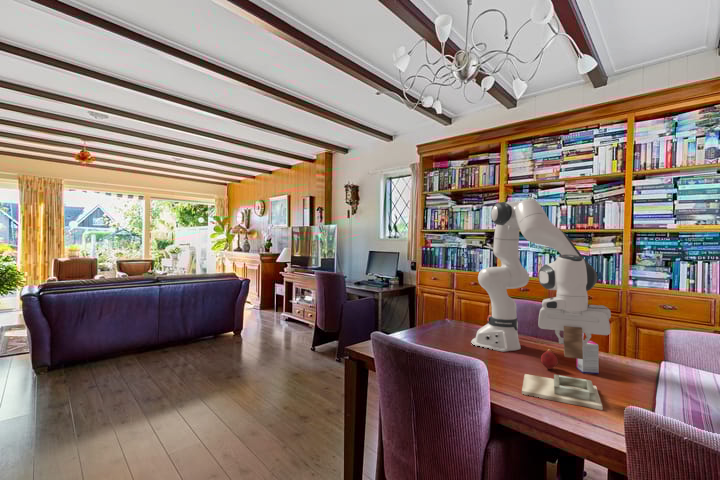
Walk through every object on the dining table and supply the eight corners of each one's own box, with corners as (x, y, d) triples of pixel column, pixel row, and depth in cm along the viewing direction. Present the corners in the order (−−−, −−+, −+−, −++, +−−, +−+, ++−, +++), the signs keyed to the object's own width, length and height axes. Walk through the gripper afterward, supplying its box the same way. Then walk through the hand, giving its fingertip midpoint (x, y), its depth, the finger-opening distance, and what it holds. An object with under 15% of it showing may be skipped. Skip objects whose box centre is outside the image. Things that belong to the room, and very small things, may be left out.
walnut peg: (564, 356, 109) (563, 326, 109) (564, 352, 113) (563, 323, 113) (582, 359, 107) (582, 328, 107) (581, 354, 111) (580, 324, 111)
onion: (551, 373, 128) (551, 352, 128) (537, 368, 133) (537, 348, 133) (560, 370, 130) (560, 350, 131) (546, 365, 136) (546, 346, 136)
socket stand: (521, 394, 111) (521, 383, 111) (524, 377, 124) (524, 367, 124) (602, 410, 100) (602, 397, 100) (596, 389, 113) (595, 378, 113)
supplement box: (599, 374, 126) (598, 344, 126) (582, 373, 127) (581, 343, 127) (592, 368, 132) (591, 340, 132) (575, 367, 133) (575, 339, 133)
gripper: (608, 304, 108) (610, 346, 108) (538, 299, 118) (538, 338, 118) (612, 307, 102) (613, 352, 102) (537, 302, 113) (538, 343, 112)
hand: (572, 344), depth 110 cm, fingers closed on walnut peg, 5 cm apart
